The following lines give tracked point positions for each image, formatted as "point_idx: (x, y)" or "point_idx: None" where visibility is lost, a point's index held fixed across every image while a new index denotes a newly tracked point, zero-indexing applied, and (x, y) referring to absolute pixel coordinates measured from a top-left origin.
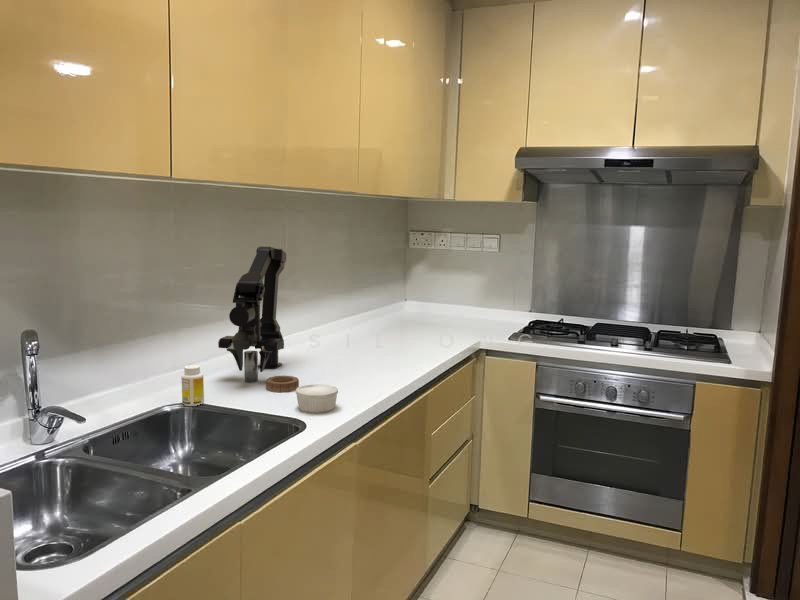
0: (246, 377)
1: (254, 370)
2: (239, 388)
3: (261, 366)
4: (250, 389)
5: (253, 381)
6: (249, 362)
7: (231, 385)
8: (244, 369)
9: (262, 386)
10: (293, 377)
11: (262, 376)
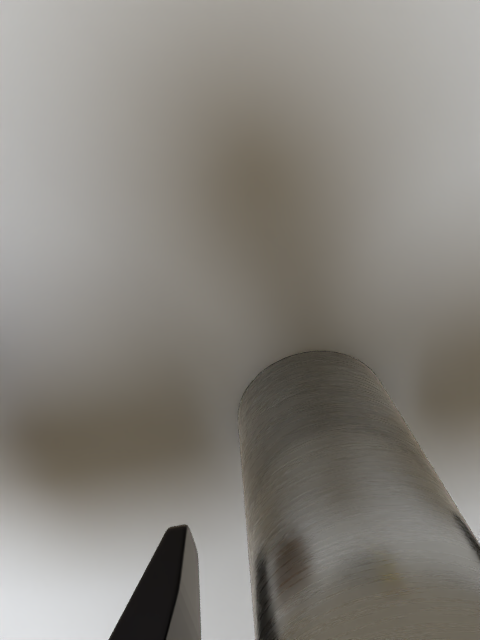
0: (350, 388)
1: (260, 511)
2: (257, 40)
3: (138, 616)
4: (63, 67)
5: (254, 386)
6: (374, 634)
7: (455, 146)
8: (442, 487)
9: (37, 288)
10: None
11: None
